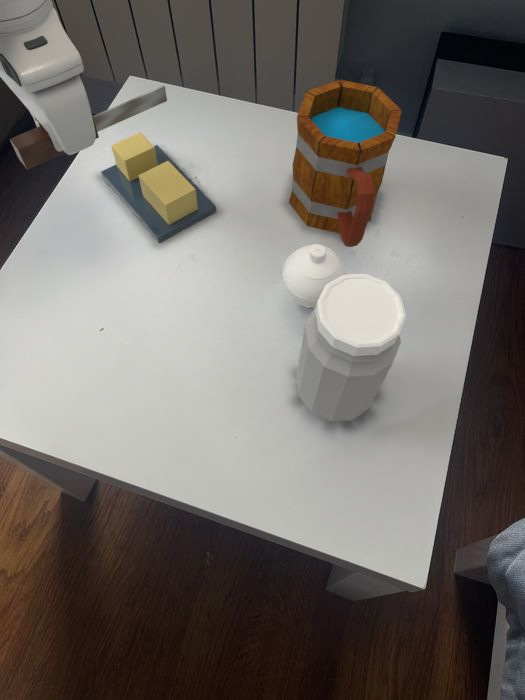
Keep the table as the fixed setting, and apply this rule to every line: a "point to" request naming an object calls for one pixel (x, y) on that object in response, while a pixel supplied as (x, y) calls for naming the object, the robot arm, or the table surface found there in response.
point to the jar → (349, 346)
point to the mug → (342, 156)
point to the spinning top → (311, 273)
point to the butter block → (168, 192)
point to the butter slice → (134, 156)
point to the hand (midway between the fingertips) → (54, 138)
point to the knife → (38, 146)
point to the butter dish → (145, 211)
